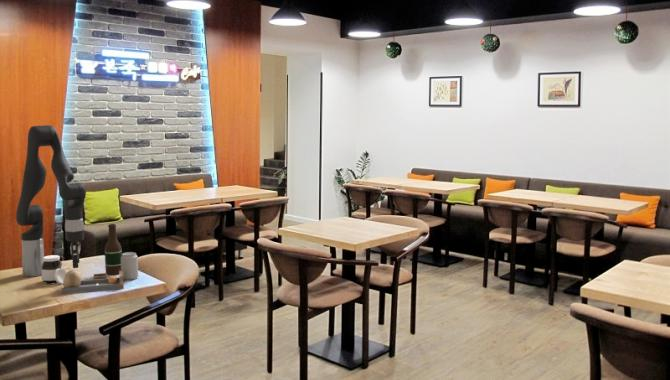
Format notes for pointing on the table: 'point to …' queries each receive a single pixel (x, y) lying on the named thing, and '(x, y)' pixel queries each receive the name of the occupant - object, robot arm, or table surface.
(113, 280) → the ball
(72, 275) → the log
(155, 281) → the table surface
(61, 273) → the spread jar
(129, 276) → the can
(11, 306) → the table surface
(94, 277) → the tee
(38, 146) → the robot arm
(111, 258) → the beer bottle
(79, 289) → the lane
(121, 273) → the backstop
